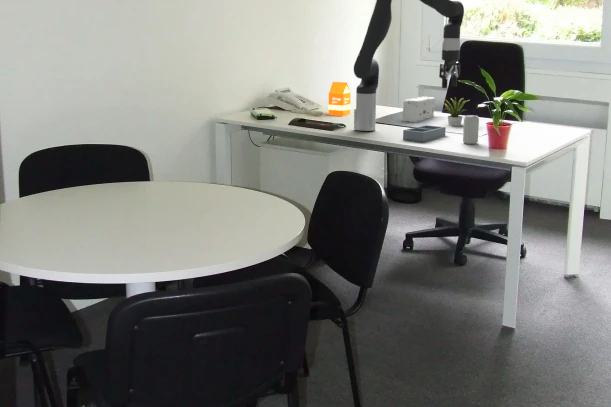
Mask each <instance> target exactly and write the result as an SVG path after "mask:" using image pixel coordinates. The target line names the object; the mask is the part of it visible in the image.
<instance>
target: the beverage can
mask: <svg viewBox="0 0 611 407" xmlns="http://www.w3.org/2000/svg"><path fill="white" fill-rule="evenodd" d="M479 127H480V119H479V116H478V115H473V114H472V115H471V114H469V115H468V114H467V115H465V116H464V118H463V135H462V142H463V143H464V144H466V145H476V144H477V143H478V142H479V130H480V129H479Z"/></svg>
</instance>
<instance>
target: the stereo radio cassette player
mask: <svg viewBox="0 0 611 407" xmlns="http://www.w3.org/2000/svg"><path fill="white" fill-rule="evenodd" d="M416 89H419V91H420V92H421V93H422V94H423V95H424V96H420V97H419V96H418V97H414V98H413V97H412V98H408V99H404V100H403V107H402V121H403V122H405V121H409V122H408V123H418V122H421V121H424V120H427V119H430V117H431V118H434V117H433V116H434V115H435V102H436V101H437V98H436V97H432V96H428V95H427V94H426V93H425V92H424V91H422V90H421V89H420V88H419V86H416ZM426 118H427V119H426Z"/></svg>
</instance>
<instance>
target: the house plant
mask: <svg viewBox="0 0 611 407" xmlns="http://www.w3.org/2000/svg"><path fill="white" fill-rule="evenodd" d="M449 99H450V100H451V102H452V104H451V103H450V101H448V100H447V99H445V98H444V99H443V100H445V101H446V103H445V102H444V105H445V108H444V109H443V111H444V110H447V111H446V112H448V113H449V114H450V115H448V116H447V122H448V126H450V125H451V126H450V127H460V125H461V126H462V121H463V116H462V115H460V114H461V113H466V111H467V109H462V108H463V107H464V104H466V103H467V102H469V99H468V100H464V97H461V98H460V99H459V100H458V102H457V98H456V97H455V96H454V99H453V98H452V97H451V98H449Z"/></svg>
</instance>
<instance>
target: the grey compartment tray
mask: <svg viewBox="0 0 611 407" xmlns="http://www.w3.org/2000/svg"><path fill="white" fill-rule="evenodd" d="M446 130H447V128H446V126H437V125H428V124H424V125H421V126H420V125H419V126H416V127H410V128H407V129H403V132H402V140H403V141H409V142H415V143H417V142H418V143H427V142H431V141H433V140H436V139H439V138H442V137H446Z"/></svg>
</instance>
